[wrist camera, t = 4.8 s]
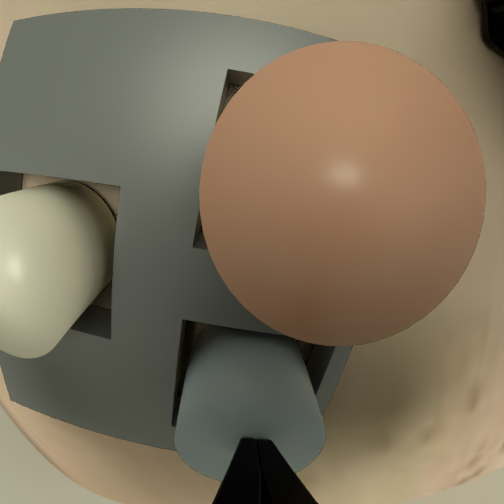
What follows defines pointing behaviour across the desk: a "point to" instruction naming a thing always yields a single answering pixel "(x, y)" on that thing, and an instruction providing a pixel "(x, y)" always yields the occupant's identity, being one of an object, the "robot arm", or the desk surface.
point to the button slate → (246, 400)
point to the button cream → (50, 262)
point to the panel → (134, 198)
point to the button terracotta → (342, 193)
